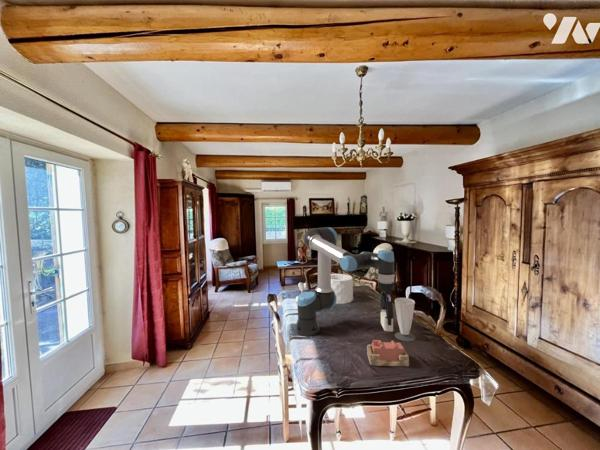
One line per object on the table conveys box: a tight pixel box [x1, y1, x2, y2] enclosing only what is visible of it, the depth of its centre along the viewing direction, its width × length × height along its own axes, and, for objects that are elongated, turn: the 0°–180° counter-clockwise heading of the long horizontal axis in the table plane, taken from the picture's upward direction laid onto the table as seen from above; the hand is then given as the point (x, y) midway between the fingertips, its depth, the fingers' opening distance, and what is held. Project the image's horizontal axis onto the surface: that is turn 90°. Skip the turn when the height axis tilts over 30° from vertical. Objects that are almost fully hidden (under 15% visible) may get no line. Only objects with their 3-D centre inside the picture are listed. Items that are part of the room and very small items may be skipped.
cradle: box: [366, 343, 410, 367], centre depth 131 cm, size 18×11×5 cm, turn 85°
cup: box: [393, 297, 416, 342], centre depth 154 cm, size 12×12×22 cm
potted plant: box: [295, 282, 307, 305], centre depth 200 cm, size 13×12×25 cm
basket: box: [331, 273, 354, 305], centre depth 224 cm, size 25×24×19 cm
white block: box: [380, 311, 394, 332], centre depth 130 cm, size 9×4×6 cm, turn 174°
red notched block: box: [371, 339, 405, 361], centre depth 131 cm, size 14×6×8 cm, turn 85°
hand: (386, 326), depth 130 cm, fingers closed on white block, 9 cm apart
